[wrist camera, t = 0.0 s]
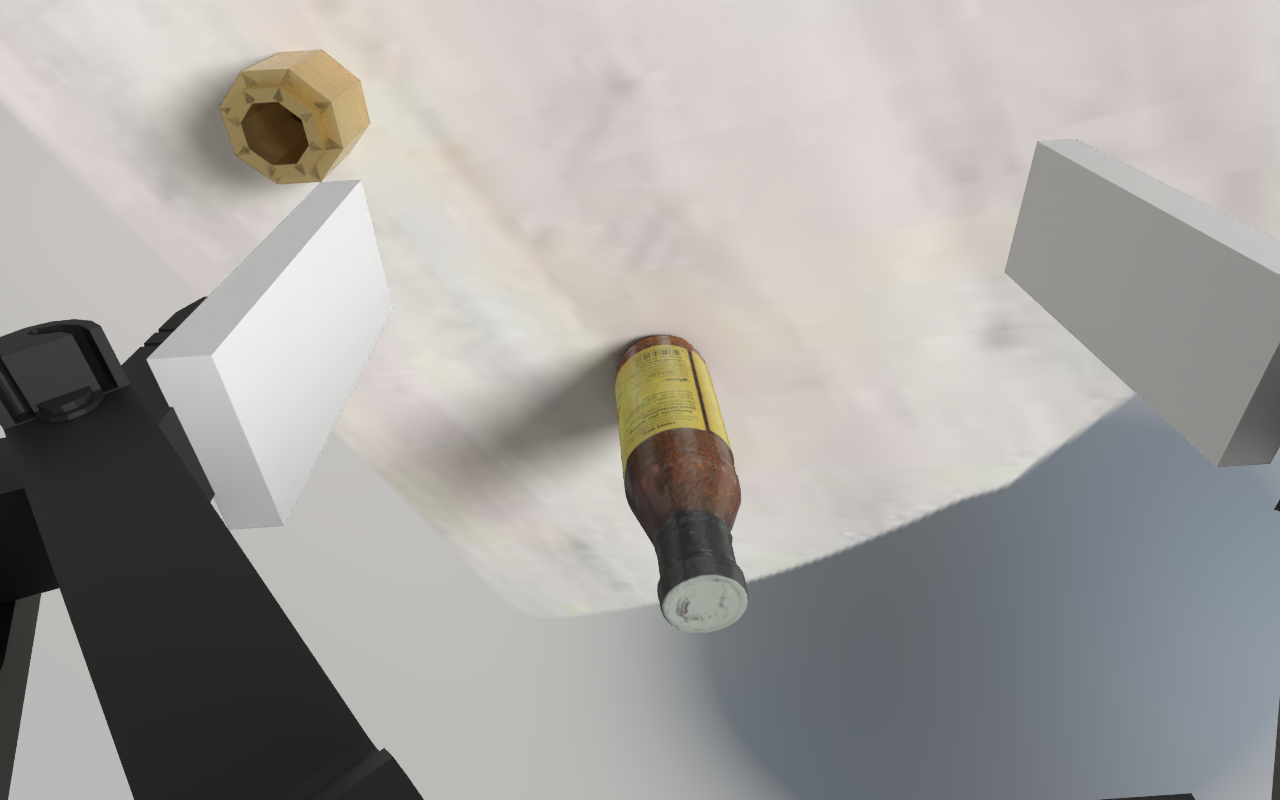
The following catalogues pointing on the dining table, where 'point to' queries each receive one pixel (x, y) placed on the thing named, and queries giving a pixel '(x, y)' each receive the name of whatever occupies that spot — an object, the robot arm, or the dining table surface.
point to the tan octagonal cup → (313, 96)
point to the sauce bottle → (681, 480)
